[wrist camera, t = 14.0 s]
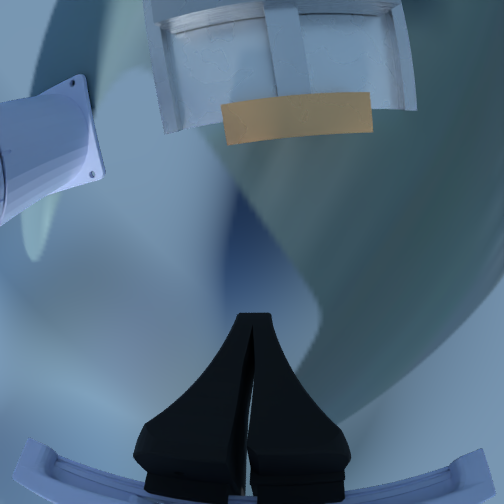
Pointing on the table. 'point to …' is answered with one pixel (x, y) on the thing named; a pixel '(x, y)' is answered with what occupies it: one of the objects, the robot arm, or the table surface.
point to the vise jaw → (280, 67)
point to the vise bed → (261, 67)
